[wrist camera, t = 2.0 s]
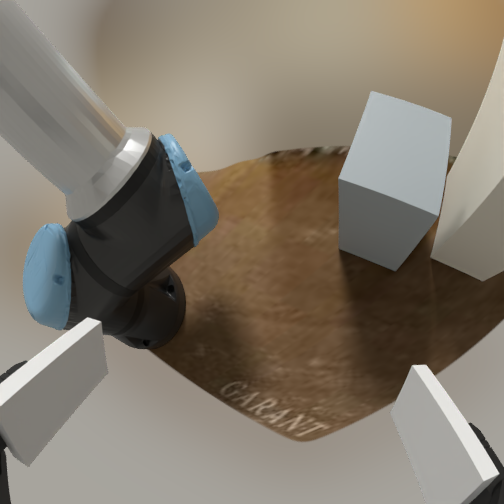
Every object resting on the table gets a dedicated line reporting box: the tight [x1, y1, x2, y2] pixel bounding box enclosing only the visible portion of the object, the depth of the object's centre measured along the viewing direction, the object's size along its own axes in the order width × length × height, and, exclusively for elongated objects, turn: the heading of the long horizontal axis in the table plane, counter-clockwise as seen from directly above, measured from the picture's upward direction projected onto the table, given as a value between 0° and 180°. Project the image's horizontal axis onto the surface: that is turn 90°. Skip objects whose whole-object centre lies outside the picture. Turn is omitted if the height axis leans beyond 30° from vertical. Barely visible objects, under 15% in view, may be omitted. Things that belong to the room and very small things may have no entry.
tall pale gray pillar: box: [339, 91, 451, 272], centre depth 30 cm, size 9×12×19 cm
